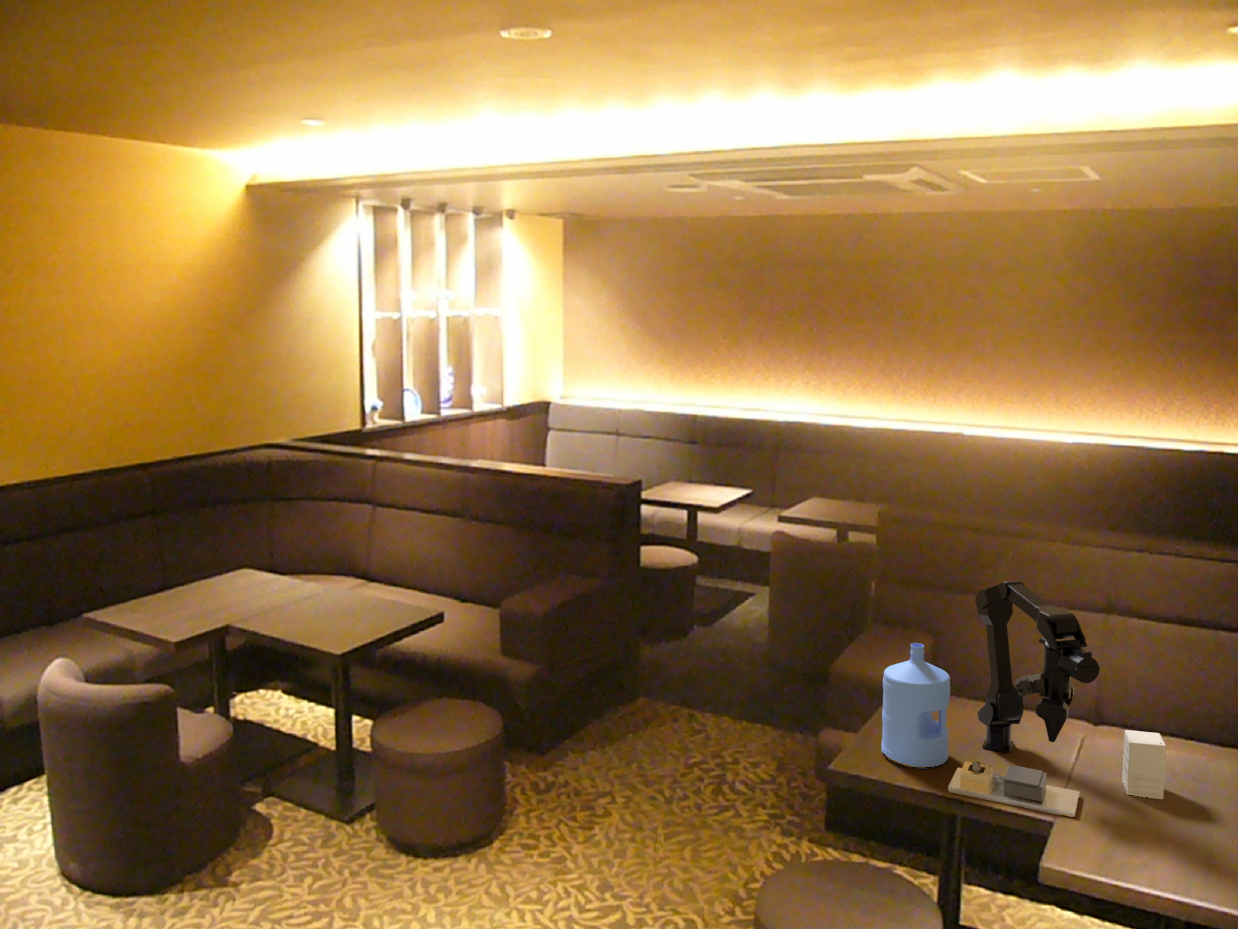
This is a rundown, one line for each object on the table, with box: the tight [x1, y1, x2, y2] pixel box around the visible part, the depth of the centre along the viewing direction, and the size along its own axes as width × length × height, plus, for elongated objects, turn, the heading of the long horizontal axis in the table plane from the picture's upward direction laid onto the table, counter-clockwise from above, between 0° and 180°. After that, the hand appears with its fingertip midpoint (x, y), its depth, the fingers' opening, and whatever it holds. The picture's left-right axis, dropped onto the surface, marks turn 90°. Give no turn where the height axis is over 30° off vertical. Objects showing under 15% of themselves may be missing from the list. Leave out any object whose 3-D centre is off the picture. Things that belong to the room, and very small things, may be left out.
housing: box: [1004, 764, 1048, 802], centre depth 218 cm, size 8×8×4 cm
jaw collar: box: [960, 761, 994, 790], centre depth 223 cm, size 6×6×3 cm
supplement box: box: [1121, 729, 1167, 800], centre depth 219 cm, size 7×7×13 cm
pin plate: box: [947, 760, 1081, 816], centre depth 219 cm, size 11×26×6 cm, turn 61°
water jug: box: [881, 642, 951, 768], centre depth 238 cm, size 16×16×28 cm
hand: (1054, 734), depth 222 cm, fingers open, 9 cm apart
